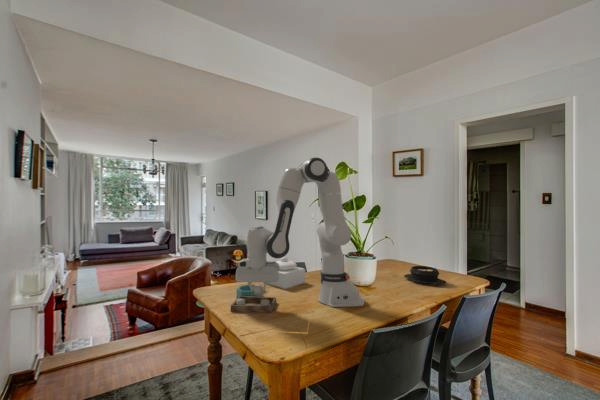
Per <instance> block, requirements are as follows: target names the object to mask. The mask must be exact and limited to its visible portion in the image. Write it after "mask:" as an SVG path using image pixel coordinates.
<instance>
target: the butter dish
mask: <svg viewBox="0 0 600 400" xmlns="http://www.w3.org/2000/svg"><path fill="white" fill-rule="evenodd" d="M279 259H280V260H276V261H275V262H277V263H278V264H279V270H278V272H279V280H278V281H277V282H267V285H269V286H272V287H277V288H279V289H283V290H287V289H290V288H293V287H296V286H299V285H302V284H305V283H306V268H303V267H298V265H297V263H296V262H294V261H292V260H289V259H288V258H287V257H286V256H284V257H282V258H279ZM277 263H276V264H277Z"/></svg>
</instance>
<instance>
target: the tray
mask: <svg viewBox="0 0 600 400" xmlns="http://www.w3.org/2000/svg"><path fill="white" fill-rule="evenodd" d="M240 298H243V299H245V305H236V304H237V299H240ZM263 299H267V300H269V306H261V300H263ZM276 304H277V297H275V296H272V297H270V296H261V297H252V296H239V297H238V298H237V297H236V299H235V300H234V301H233V303H232V304H231V305H230V312H237V313H238V312H239V313H259V314H261V313H262V314H272V312H273V310H274V308H275V307H276Z"/></svg>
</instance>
